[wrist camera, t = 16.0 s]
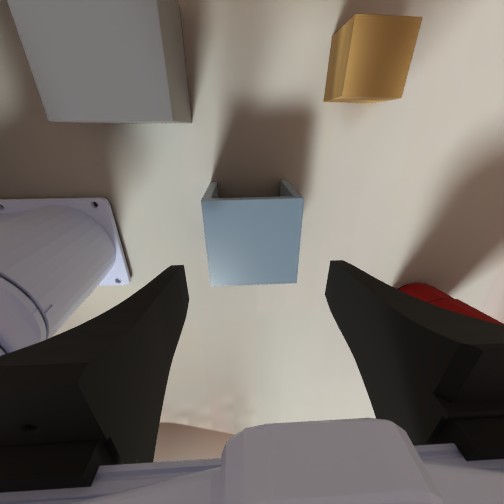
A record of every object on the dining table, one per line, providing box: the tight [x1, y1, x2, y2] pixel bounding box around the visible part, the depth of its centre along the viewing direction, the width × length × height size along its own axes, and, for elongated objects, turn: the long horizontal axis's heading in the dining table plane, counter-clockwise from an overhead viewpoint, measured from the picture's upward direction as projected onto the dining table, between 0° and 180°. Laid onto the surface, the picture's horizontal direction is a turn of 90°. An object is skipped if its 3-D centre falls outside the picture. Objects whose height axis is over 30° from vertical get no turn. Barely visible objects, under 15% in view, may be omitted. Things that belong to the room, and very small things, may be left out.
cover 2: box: [201, 180, 304, 286], centre depth 18 cm, size 6×6×6 cm
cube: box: [324, 14, 422, 103], centre depth 15 cm, size 4×4×4 cm
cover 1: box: [7, 0, 192, 123], centre depth 13 cm, size 6×6×6 cm
